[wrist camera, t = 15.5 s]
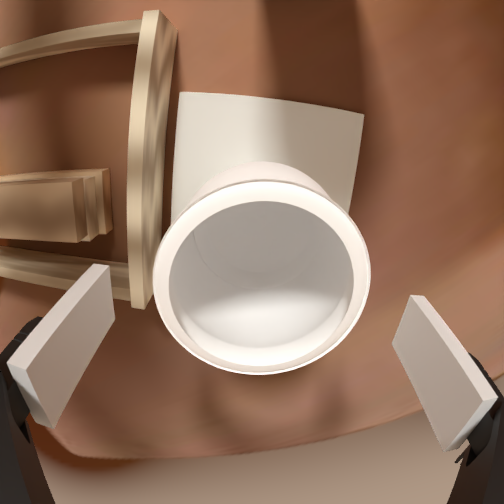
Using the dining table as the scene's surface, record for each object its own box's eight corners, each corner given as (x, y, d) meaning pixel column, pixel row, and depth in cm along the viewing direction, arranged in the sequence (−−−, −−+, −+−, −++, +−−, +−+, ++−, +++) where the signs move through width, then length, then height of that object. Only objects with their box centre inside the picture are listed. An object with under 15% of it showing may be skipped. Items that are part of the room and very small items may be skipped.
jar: (242, 127, 26) (228, 129, 12) (339, 194, 28) (412, 263, 14) (179, 226, 29) (118, 317, 15) (272, 283, 31) (282, 401, 18)
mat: (181, 92, 25) (179, 91, 25) (362, 114, 26) (364, 114, 25) (171, 296, 33) (170, 298, 32) (324, 311, 33) (325, 314, 33)
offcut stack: (-12, 176, 28) (-45, 188, 22) (110, 168, 28) (80, 179, 22) (-6, 223, 30) (-36, 241, 25) (114, 227, 30) (87, 249, 25)
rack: (-29, 68, 22) (-62, 68, 17) (178, 30, 23) (159, 10, 17) (-24, 249, 31) (-52, 267, 26) (161, 278, 32) (144, 309, 26)
